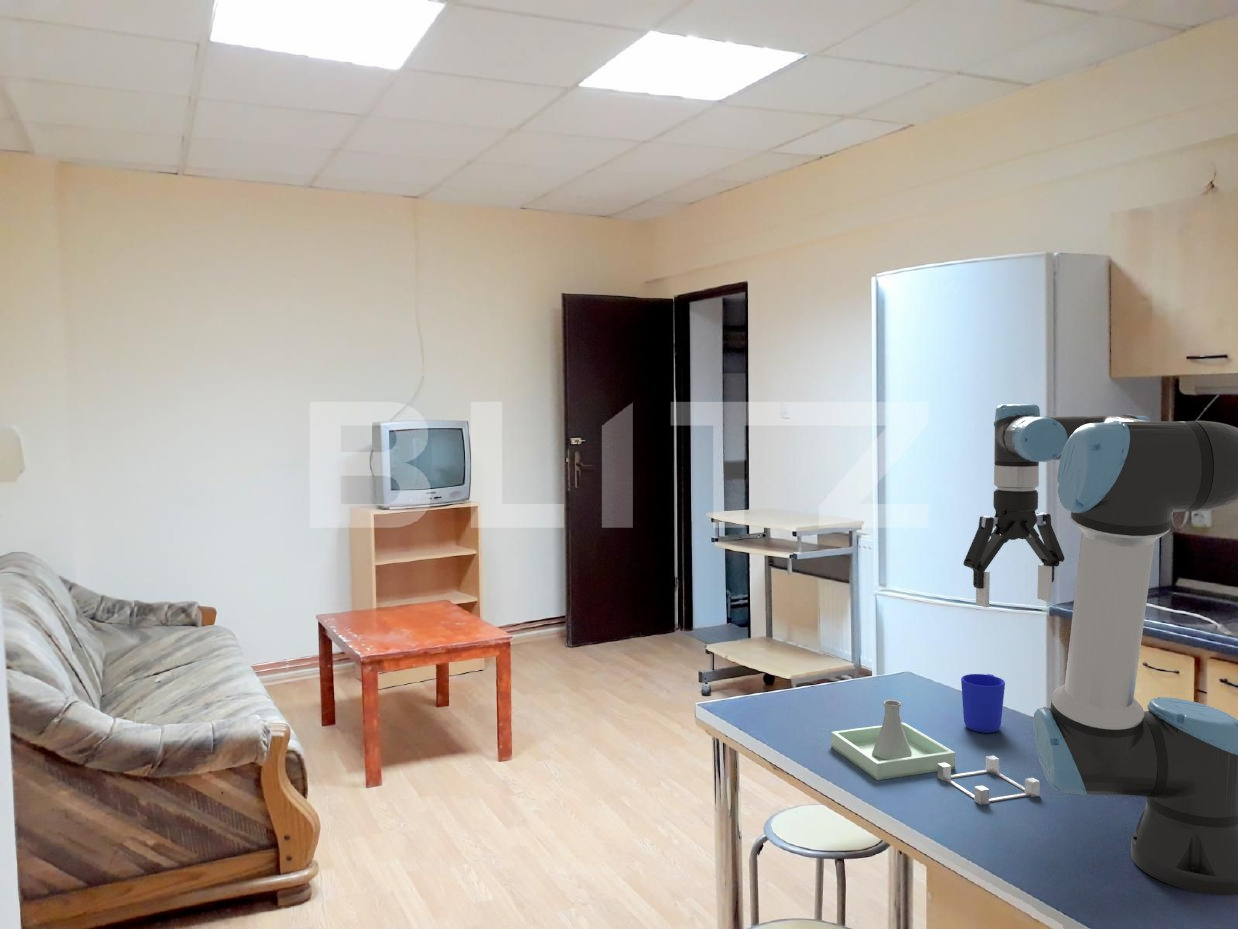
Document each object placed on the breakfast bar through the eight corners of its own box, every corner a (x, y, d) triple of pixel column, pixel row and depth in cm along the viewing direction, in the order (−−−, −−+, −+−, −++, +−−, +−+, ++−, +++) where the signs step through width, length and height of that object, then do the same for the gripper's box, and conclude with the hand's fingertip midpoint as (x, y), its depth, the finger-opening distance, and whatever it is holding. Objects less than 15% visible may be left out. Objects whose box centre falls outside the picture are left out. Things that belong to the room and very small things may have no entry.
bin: (955, 768, 165) (955, 752, 165) (877, 780, 160) (877, 763, 160) (903, 737, 180) (904, 722, 180) (831, 747, 176) (831, 732, 175)
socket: (1039, 795, 153) (1039, 781, 153) (980, 805, 150) (980, 790, 150) (992, 769, 164) (993, 755, 164) (937, 777, 161) (937, 763, 161)
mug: (1010, 720, 189) (1011, 672, 188) (1000, 739, 179) (1000, 689, 178) (969, 713, 193) (969, 666, 192) (956, 731, 183) (957, 682, 182)
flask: (918, 754, 171) (919, 701, 170) (902, 766, 165) (902, 712, 164) (881, 744, 175) (882, 693, 174) (864, 756, 170) (865, 703, 169)
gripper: (1056, 483, 174) (1054, 593, 176) (944, 489, 167) (943, 603, 169) (1087, 487, 167) (1084, 601, 169) (971, 493, 160) (969, 612, 162)
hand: (1013, 603), depth 169 cm, fingers open, 13 cm apart
